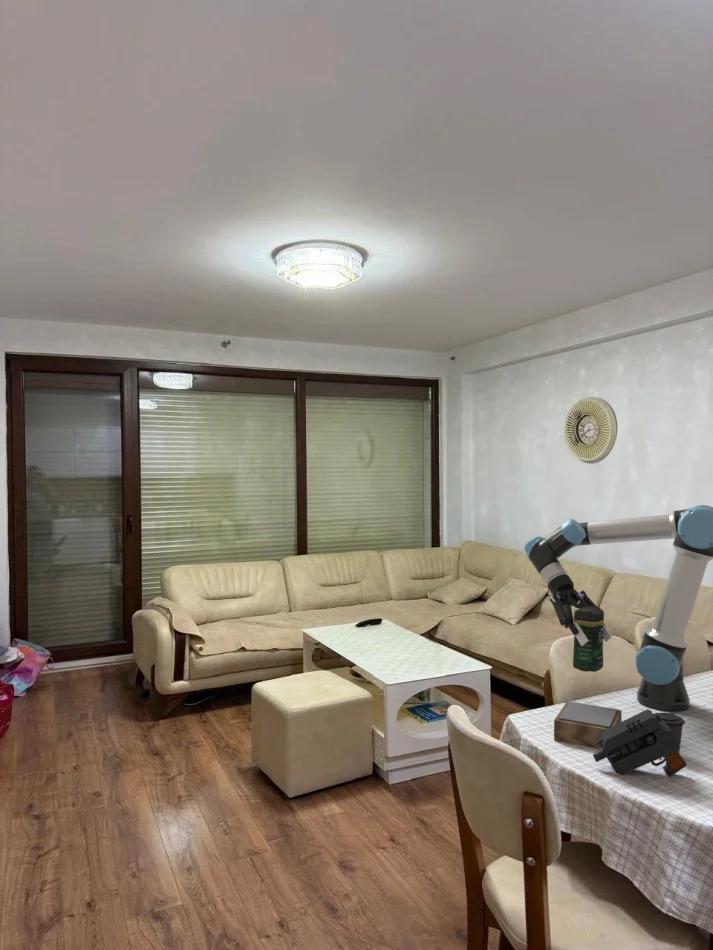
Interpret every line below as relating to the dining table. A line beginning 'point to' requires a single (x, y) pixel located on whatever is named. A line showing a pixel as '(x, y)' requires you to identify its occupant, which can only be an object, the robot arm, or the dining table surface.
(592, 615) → the coffee jar
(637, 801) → the dining table surface
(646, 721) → the grey toy blaster gun
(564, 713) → the wooden block
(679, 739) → the coffee cup
